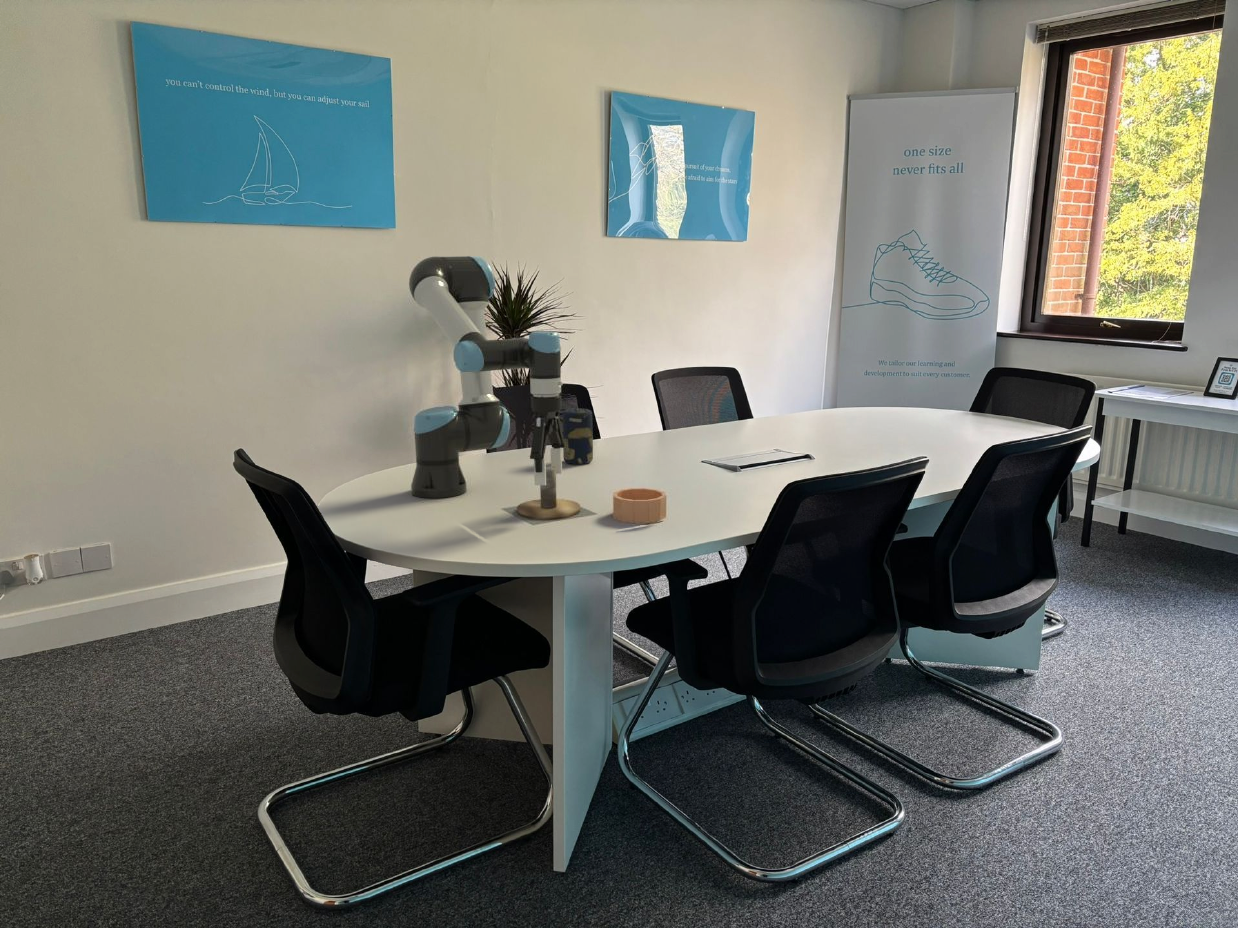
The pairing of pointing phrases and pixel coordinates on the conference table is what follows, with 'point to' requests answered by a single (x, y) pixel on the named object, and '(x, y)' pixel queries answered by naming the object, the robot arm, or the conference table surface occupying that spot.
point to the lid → (548, 502)
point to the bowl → (639, 505)
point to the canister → (577, 436)
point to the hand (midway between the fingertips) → (548, 479)
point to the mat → (535, 521)
